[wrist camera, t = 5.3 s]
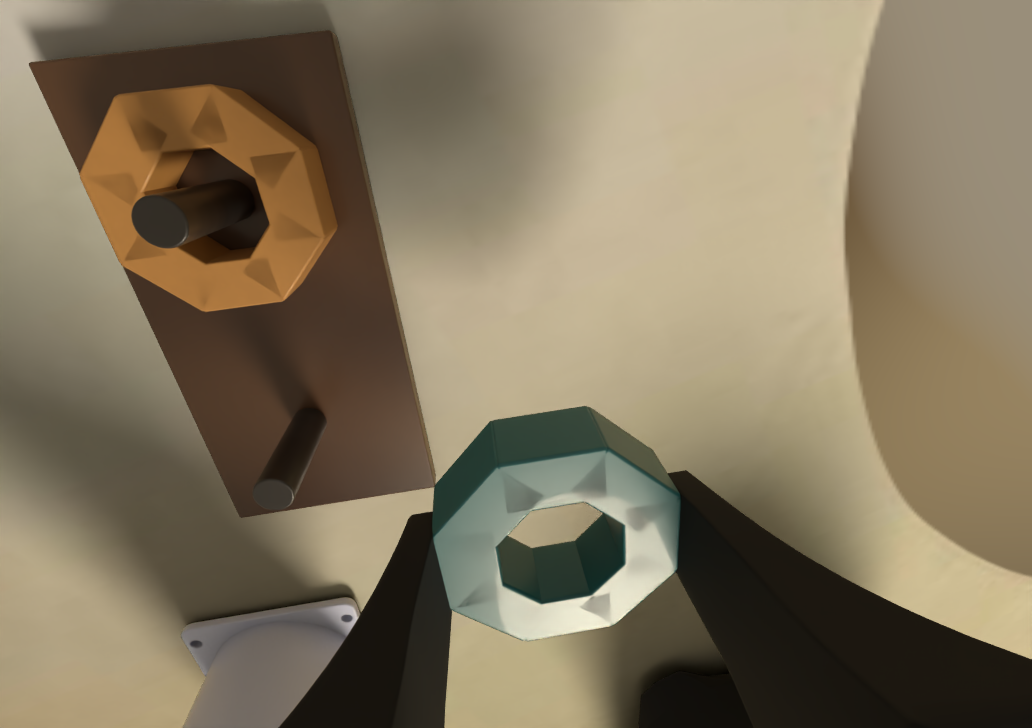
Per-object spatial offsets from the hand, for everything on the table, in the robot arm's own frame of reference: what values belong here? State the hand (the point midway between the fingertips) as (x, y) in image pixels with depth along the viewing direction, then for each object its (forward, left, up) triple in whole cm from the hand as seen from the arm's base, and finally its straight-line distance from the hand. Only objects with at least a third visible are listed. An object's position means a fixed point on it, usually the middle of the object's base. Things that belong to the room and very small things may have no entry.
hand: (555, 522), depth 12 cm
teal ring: (0, 0, -1) cm, 1 cm away
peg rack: (+4, +8, -8) cm, 12 cm away
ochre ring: (+8, +8, -7) cm, 13 cm away
